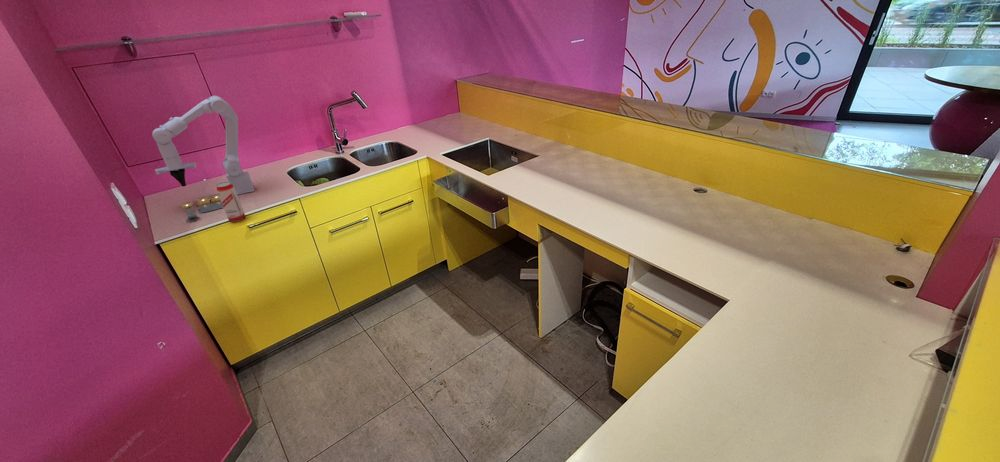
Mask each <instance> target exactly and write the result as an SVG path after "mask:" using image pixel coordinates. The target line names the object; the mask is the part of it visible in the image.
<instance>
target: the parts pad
mask: <svg viewBox="0 0 1000 462" xmlns="http://www.w3.org/2000/svg"><path fill="white" fill-rule="evenodd" d="M197 217H198V218H197V219H195V220H189V219H188V218H186V220H185V222H187V223H192V222H195V221H198V220H199V216H198V215H197Z"/></svg>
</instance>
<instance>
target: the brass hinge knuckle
mask: <svg viewBox="0 0 1000 462" xmlns="http://www.w3.org/2000/svg"><path fill="white" fill-rule="evenodd" d="M205 197H206V196H205ZM201 198H202V197H201ZM196 204H197V211H198V213H199V214H203V213H207V212H211V211H215V210H218V209H219V210H220V209H224V207H223V205H222V203H221V201H218V202H213V203H212V202H211V200H210V198H209V197H206V198H202V199H199V198H198V199H196Z"/></svg>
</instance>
